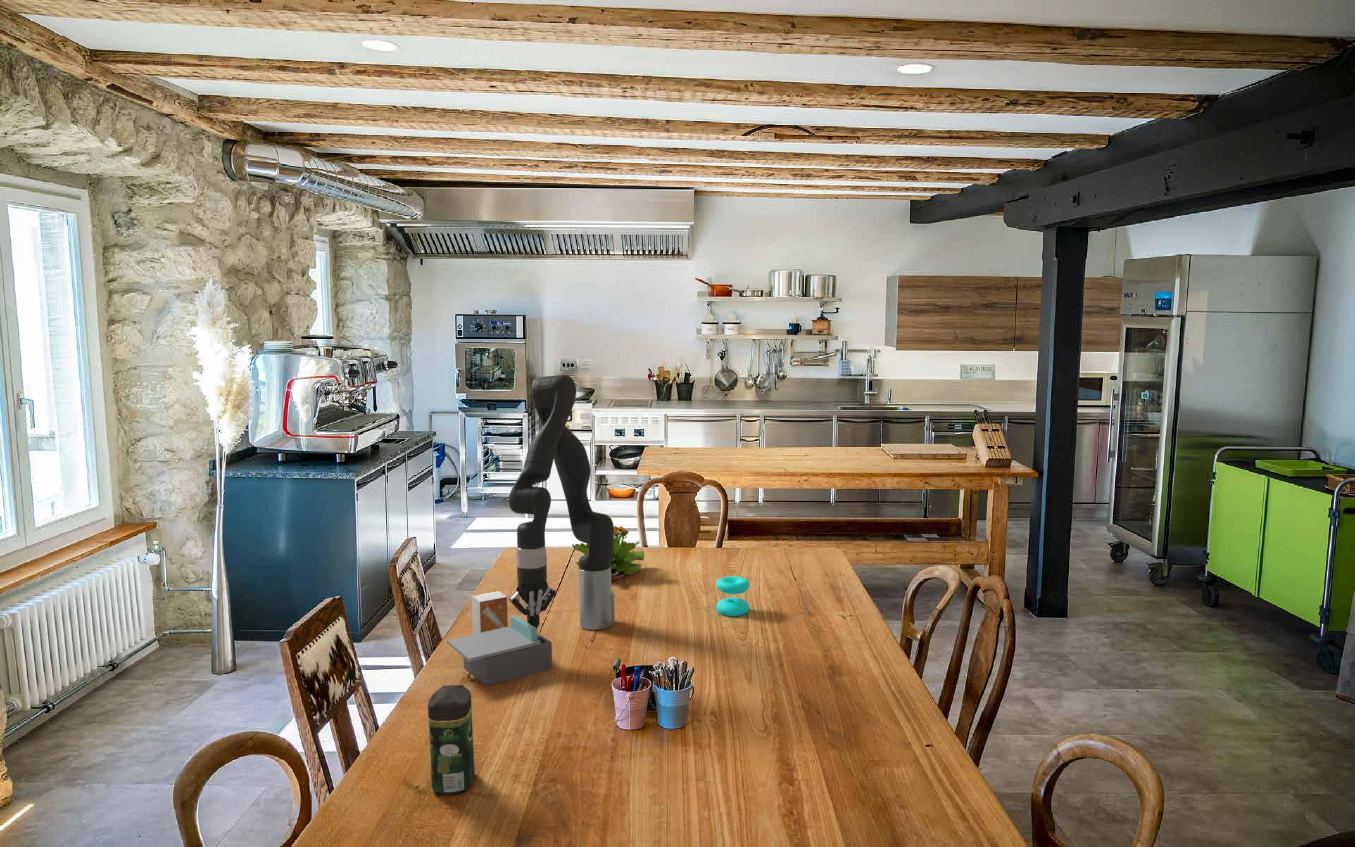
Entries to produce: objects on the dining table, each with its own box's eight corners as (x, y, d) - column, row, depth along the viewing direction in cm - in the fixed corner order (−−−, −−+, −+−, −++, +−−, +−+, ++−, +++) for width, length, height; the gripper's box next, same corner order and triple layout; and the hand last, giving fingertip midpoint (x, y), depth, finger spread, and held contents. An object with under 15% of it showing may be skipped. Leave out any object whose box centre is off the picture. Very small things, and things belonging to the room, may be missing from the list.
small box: (481, 648, 238) (479, 601, 236) (472, 640, 243) (470, 595, 242) (509, 641, 242) (507, 596, 241) (500, 634, 248) (498, 590, 246)
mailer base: (528, 651, 235) (527, 626, 234) (552, 668, 224) (551, 642, 223) (463, 667, 225) (462, 641, 224) (485, 686, 214) (484, 658, 213)
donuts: (753, 576, 267) (743, 586, 258) (753, 608, 268) (743, 619, 259) (722, 573, 271) (711, 582, 262) (722, 604, 272) (711, 615, 263)
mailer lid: (515, 627, 233) (515, 613, 232) (540, 644, 221) (540, 629, 220) (446, 643, 222) (446, 628, 221) (469, 661, 210) (468, 646, 210)
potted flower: (640, 588, 289) (640, 536, 287) (569, 588, 289) (567, 536, 287) (644, 566, 314) (644, 518, 312) (578, 566, 314) (577, 518, 312)
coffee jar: (436, 771, 174) (433, 681, 172) (477, 769, 175) (474, 679, 172) (427, 797, 164) (423, 703, 162) (470, 795, 165) (466, 701, 163)
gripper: (548, 555, 232) (549, 618, 234) (501, 564, 225) (503, 629, 227) (561, 562, 226) (563, 626, 228) (514, 571, 218) (516, 637, 221)
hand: (533, 628), depth 227 cm, fingers closed
